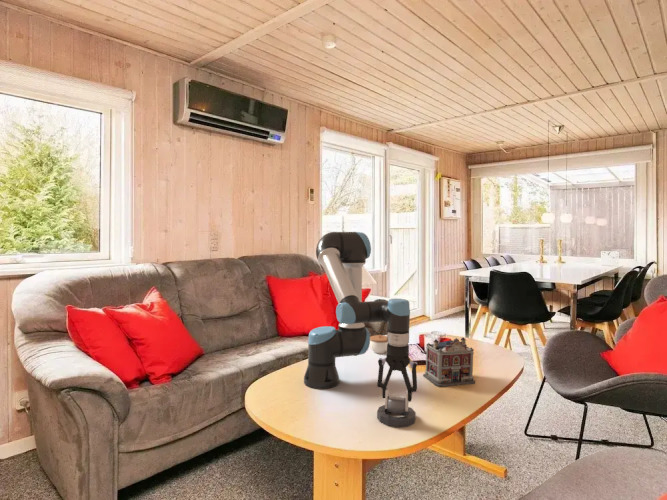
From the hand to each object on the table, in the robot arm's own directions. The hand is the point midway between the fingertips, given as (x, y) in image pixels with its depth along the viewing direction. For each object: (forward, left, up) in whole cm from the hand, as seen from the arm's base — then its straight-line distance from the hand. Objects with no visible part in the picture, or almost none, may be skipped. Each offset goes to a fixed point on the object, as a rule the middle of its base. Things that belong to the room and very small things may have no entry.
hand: (396, 408), depth 151 cm
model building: (+16, +46, -4) cm, 49 cm away
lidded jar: (-21, +76, -4) cm, 79 cm away
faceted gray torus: (0, 0, -4) cm, 4 cm away
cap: (0, 0, 0) cm, 1 cm away
